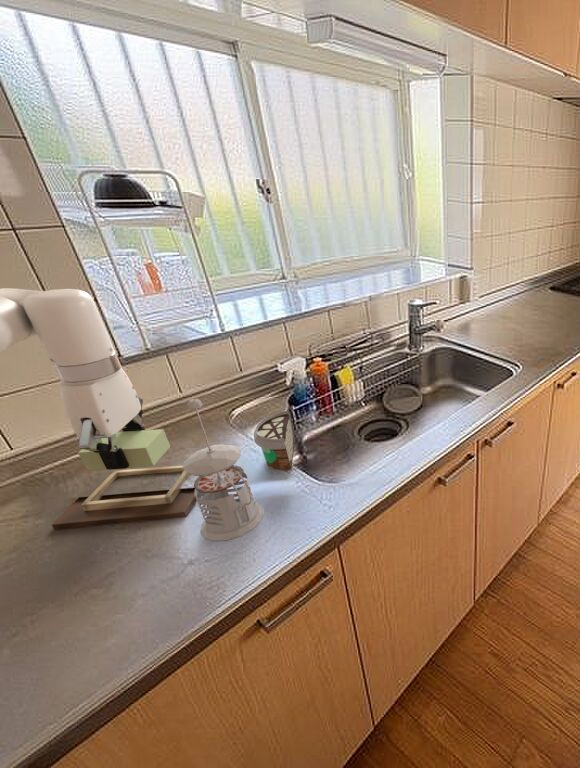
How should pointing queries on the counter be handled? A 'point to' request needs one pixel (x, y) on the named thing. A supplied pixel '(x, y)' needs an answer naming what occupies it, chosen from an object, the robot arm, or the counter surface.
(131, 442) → the green rectangular block
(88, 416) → the robot arm
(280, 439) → the food container
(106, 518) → the back board
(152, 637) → the counter surface
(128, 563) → the counter surface
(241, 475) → the french press
